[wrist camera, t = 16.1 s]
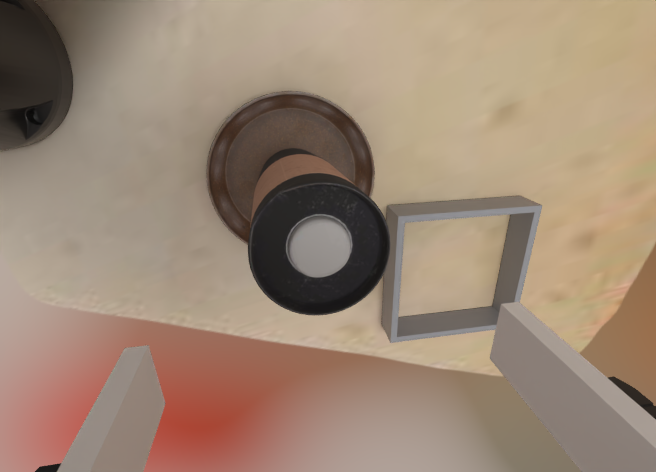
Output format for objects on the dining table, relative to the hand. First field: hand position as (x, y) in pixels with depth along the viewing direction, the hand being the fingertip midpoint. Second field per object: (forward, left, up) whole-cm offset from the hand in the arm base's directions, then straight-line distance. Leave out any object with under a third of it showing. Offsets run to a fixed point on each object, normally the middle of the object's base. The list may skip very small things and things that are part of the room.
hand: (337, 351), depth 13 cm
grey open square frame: (+20, -13, -28) cm, 37 cm away
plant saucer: (0, 0, -29) cm, 29 cm away
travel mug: (0, 0, -26) cm, 26 cm away
